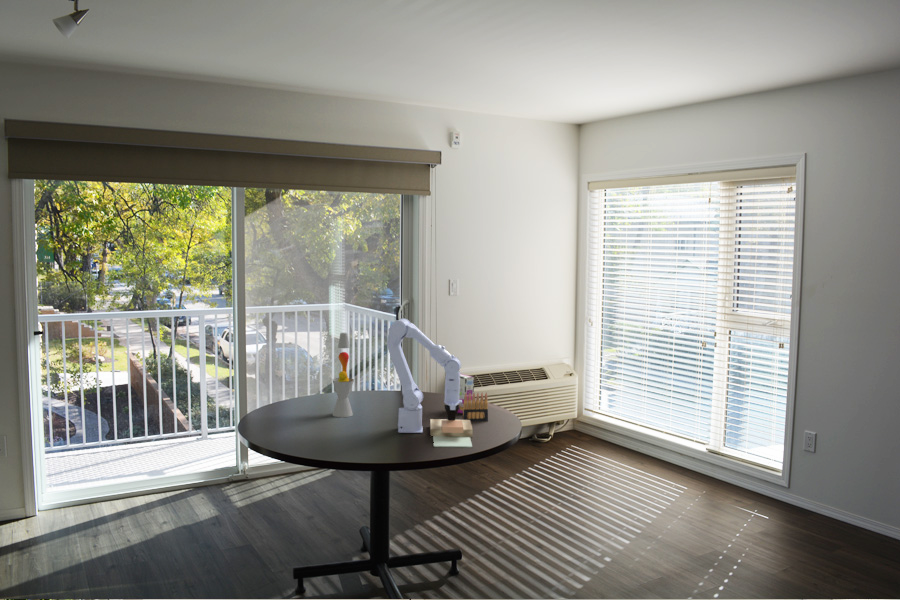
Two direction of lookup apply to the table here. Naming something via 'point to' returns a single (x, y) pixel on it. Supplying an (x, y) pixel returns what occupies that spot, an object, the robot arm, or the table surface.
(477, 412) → the ammunition clip
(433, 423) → the riser
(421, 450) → the table surface
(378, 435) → the table surface
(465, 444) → the mat
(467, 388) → the candy bar box
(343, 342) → the lava lamp
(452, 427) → the peach flat block
